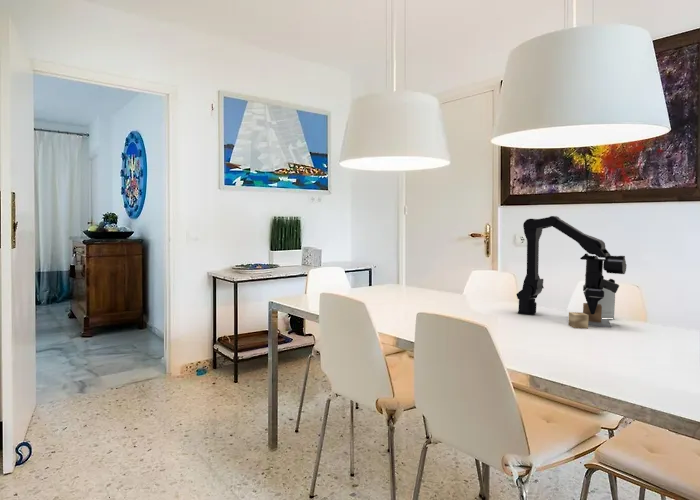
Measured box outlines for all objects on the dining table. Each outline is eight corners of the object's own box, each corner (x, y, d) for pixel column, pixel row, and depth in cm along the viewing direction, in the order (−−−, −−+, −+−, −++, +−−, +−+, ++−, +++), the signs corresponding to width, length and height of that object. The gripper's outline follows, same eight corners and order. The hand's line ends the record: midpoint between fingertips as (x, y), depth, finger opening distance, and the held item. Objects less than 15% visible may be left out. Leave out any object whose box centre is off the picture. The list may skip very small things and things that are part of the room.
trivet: (574, 324, 176) (574, 321, 176) (573, 318, 187) (574, 316, 187) (610, 327, 171) (611, 324, 171) (607, 321, 182) (608, 319, 182)
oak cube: (573, 328, 169) (574, 314, 168) (568, 325, 174) (568, 312, 173) (587, 328, 168) (588, 315, 168) (582, 325, 173) (582, 312, 173)
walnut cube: (583, 320, 177) (584, 305, 177) (582, 318, 183) (583, 302, 182) (601, 322, 175) (601, 306, 174) (599, 319, 180) (600, 304, 180)
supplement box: (614, 319, 186) (616, 288, 185) (596, 319, 186) (597, 287, 186) (605, 316, 193) (606, 285, 193) (587, 315, 194) (588, 285, 193)
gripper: (621, 275, 166) (618, 318, 167) (615, 271, 183) (613, 310, 184) (586, 273, 171) (584, 315, 171) (583, 269, 188) (582, 308, 188)
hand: (591, 312), depth 179 cm, fingers open, 8 cm apart
